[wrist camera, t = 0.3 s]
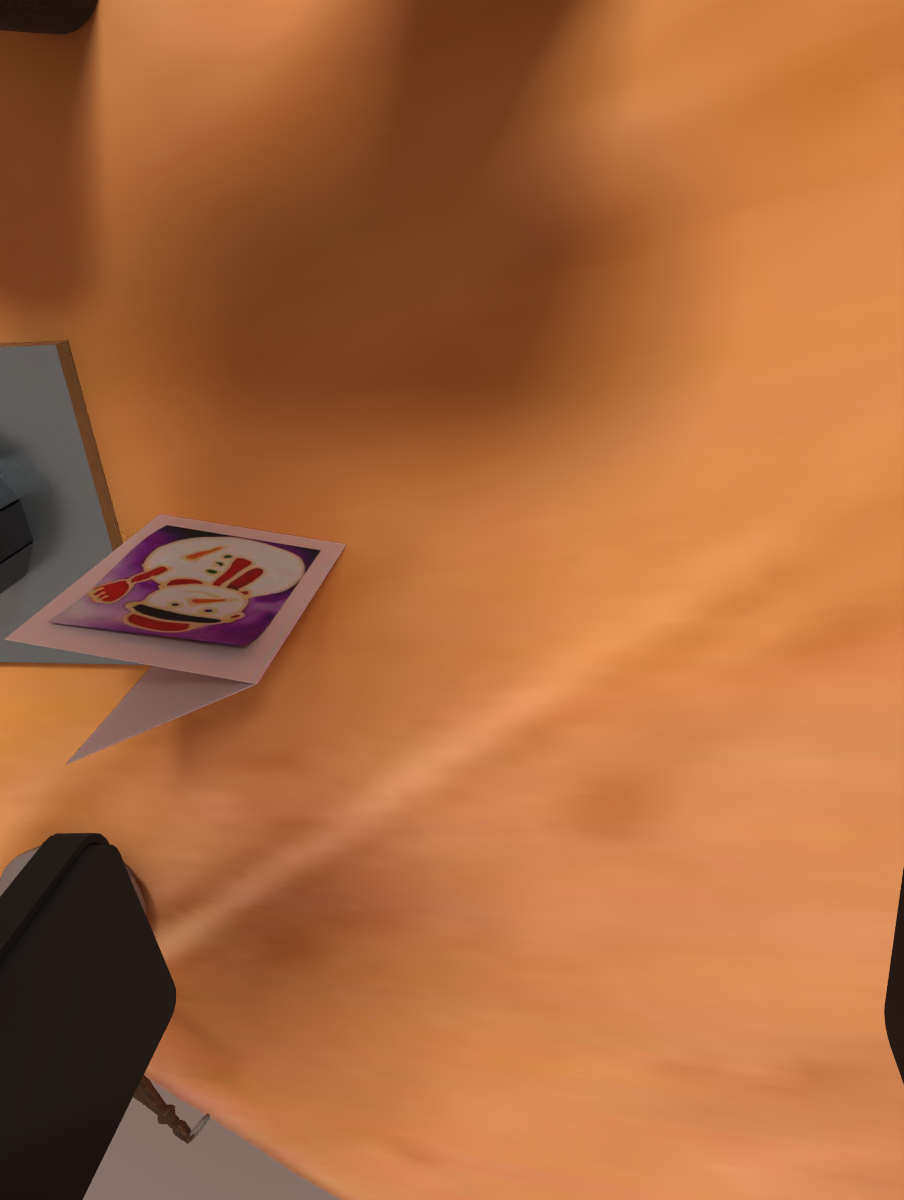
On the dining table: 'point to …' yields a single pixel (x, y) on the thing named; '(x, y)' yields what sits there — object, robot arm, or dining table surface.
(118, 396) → the dining table surface
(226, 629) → the greeting card
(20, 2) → the drinking cup
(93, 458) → the square plate with ring
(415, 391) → the dining table surface
